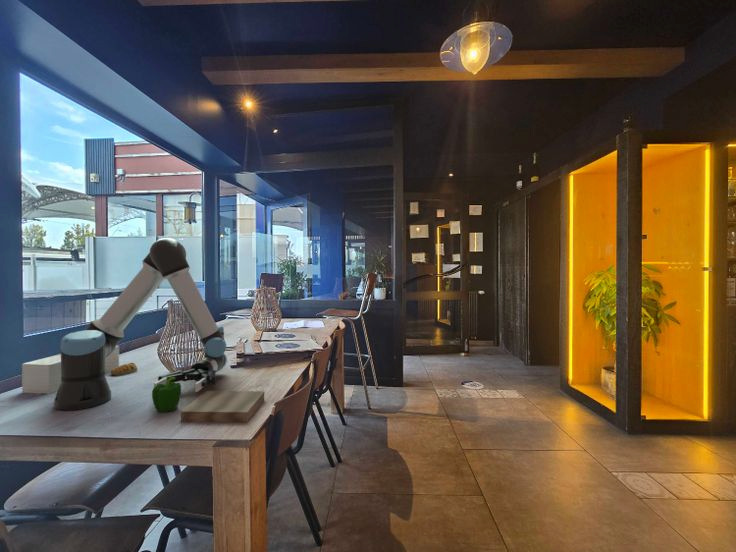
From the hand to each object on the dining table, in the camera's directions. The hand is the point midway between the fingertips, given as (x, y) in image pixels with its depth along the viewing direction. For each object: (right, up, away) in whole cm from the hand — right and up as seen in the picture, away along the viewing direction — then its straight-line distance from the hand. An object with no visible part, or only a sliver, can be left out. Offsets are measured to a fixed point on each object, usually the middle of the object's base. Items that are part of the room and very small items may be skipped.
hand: (175, 387), depth 119 cm
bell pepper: (-1, -6, -3) cm, 7 cm away
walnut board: (+18, -6, -3) cm, 19 cm away
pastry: (-41, -5, +35) cm, 54 cm away
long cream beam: (-54, -5, +25) cm, 60 cm away
